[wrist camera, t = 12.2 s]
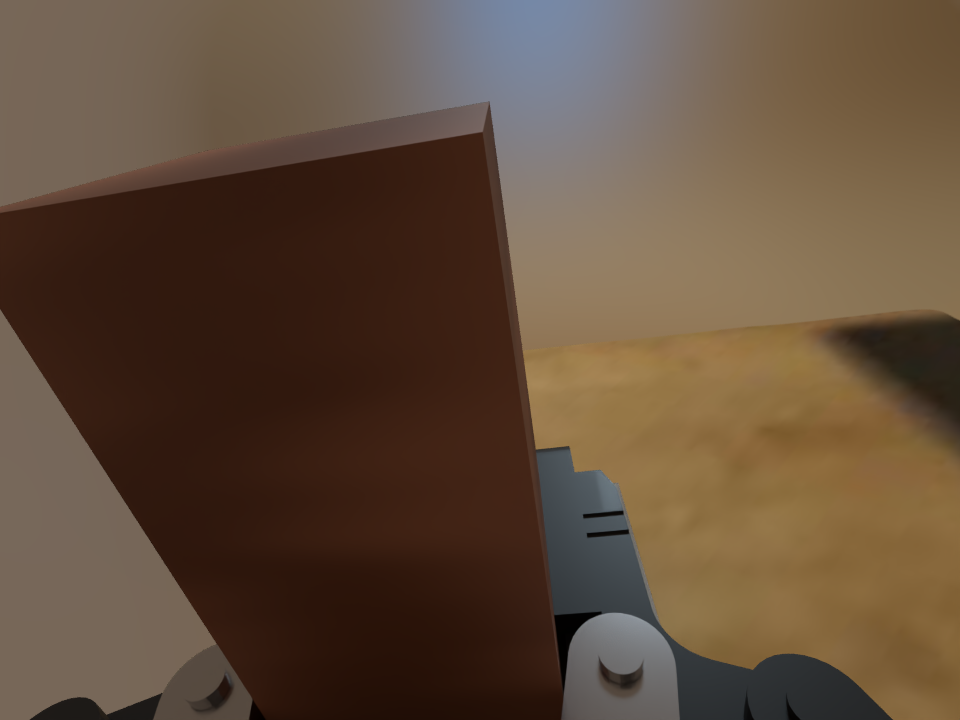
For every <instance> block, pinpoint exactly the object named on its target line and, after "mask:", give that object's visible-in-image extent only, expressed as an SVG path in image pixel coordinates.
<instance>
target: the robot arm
mask: <svg viewBox="0 0 960 720" xmlns="http://www.w3.org/2000/svg"><path fill="white" fill-rule="evenodd" d="M536 456H537V463H538V471H539V479H540V488H541V497H542V507H543V516H544V525H545V535H546V544H547V553H548V563H549V572H550V582H551V591H552V600H553V610H554V618H555V625H556V633H557V640H558V647H559V654H560V661H561V669H562V676H563V683H564V699H563V708H562V717H561V720H893V719H892V718H890V717H889V716H888V715H887V714H886V713H885V712H884V711H883V710H882V709H881V708H880V707H879V706H878V705H877V704H876V703H875V702H874V701H873V700H872V699H871V698H870V697H869V696H868V695H867V694H866V693H865V692H864V691H863V690H862V689H861V688H860V687H859V686H858V685H857V684H856V683H855V682H854V681H853V680H851V679H850V678H849V677H848V676H846V675H845V674H844V673H842V672H841V671H839V670H838V669H836V668H834V667H832V666H831V665H829V664H827V663H825V662H822V661H820V660H818V659H815V658H812V657H808V656H805V655H798V654H780V655H774V656H772V657H769V658H767V659H765V660H763V661H762V662H760V663H759V664H758V665H757V666H756V667H755V668H754V670H750V669H746V668H742V667H738V666H735V665H731V664H727V663H723V662H719V661H715V660H711V659H708V658H705V657H701V656H699V655H697V654H695V653H693V652H690V651H689V650H687V649H686V648H684V647H682V646H681V645H679V644H678V643H677V642H676V641H674V640H673V639H672V638H671V637H670V636H669V635H668V634H667V633H666V632H665V631H664V629H663V628H662V627H661V625H660V624H659V622H658V621H657V619H656V617H655V615H654V613H653V610H652V607H651V604H650V600H649V597H648V593H647V590H646V586H645V583H644V580H643V576H642V573H641V569H640V566H639V562H638V559H637V555H636V552H635V549H634V545H633V542H632V538H631V535H630V533H629V528H628V524H627V521H626V518H625V515H624V511H623V507H622V504H621V500H620V497H619V493H618V490H617V488H616V486H615V485H614V484H613V483H612V482H611V481H610V480H609V479H608V478H607V477H606V476H605V475H604V473H603V472H602V471H601V470H595V471H585V472H574V467H573V462H572V457H571V452H570V448H569V446H566V447H557V448H548V449H538V450H536ZM30 720H266V719H265V718H264V716H263V714H262V713H261V711H260V710H259V708H258V707H257V705H256V704H255V702H254V701H253V699H252V697H251V696H250V694H249V693H248V691H247V690H246V688H245V687H244V685H243V684H242V682H241V680H240V679H239V677H238V676H237V674H236V673H235V671H234V670H233V668H232V667H231V665H230V663H229V662H228V660H227V659H226V657H225V656H224V654H223V653H222V651H221V650H220V648H219V646H218V645H217V644H216V645H214V646H211V647H209V648H207V649H205V650H203V651H202V652H200V653H198V654H197V655H195V656H194V657H193V658H192V659H190V660H189V661H188V662H187V663H185V664H184V665H183V666H182V667H181V668H180V669H179V671H178V672H177V673H176V674H175V675H174V676H173V678H172V679H171V680H170V682H169V683H168V685H167V687H166V688H165V690H164V692H163V693H161V694H159V695H156V696H154V697H151V698H149V699H146V700H144V701H141V702H138V703H136V704H133V705H131V706H128V707H126V708H123V709H121V710H118V711H115V712H113V713H110V714H108V715H106V714H105V713H104V712H103V711H102V709H101V708H100V707H99V706H98V705H97V704H96V703H95V702H94V701H92V700H91V699H88V698H81V697H78V698H71V699H67V700H64V701H61V702H59V703H57V704H54V705H52V706H50V707H49V708H47V709H45V710H43V711H42V712H40V713H39V714H37V715H36V716H34V717H33V718H31V719H30Z"/></svg>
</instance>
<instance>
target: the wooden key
mask: <svg viewBox="0 0 960 720" xmlns="http://www.w3.org/2000/svg"><path fill="white" fill-rule="evenodd" d="M0 309H1V311H2V313H3V314H4V316H5V317H6V319H7V320H8V322H9V323H10V325H11V327H12V328H13V330H14V331H15V333H16V334H17V336H18V337H19V339H20V340H21V342H22V343H23V345H24V346H25V348H26V350H27V351H28V353H29V354H30V356H31V357H32V359H33V360H34V362H35V364H36V365H37V367H38V368H39V370H40V371H41V373H42V374H43V376H44V377H45V379H46V380H47V382H48V384H49V385H50V387H51V388H52V390H53V391H54V393H55V395H56V396H57V398H58V399H59V401H60V402H61V404H62V405H63V407H64V408H65V410H66V412H67V413H68V415H69V416H70V418H71V419H72V421H73V422H74V424H75V425H76V427H77V428H78V430H79V432H80V433H81V435H82V436H83V438H84V439H85V441H86V442H87V444H88V445H89V447H90V449H91V450H92V452H93V453H94V455H95V456H96V458H97V459H98V461H99V462H100V464H101V466H102V467H103V469H104V470H105V472H106V473H107V475H108V476H109V478H110V480H111V481H112V482H113V484H114V486H115V487H116V489H117V490H118V492H119V493H120V495H121V496H122V498H123V500H124V501H125V503H126V504H127V506H128V507H129V509H130V510H131V512H132V514H133V515H134V517H135V518H136V520H137V521H138V523H139V524H140V526H141V527H142V529H143V530H144V532H145V534H146V535H147V537H148V538H149V540H150V541H151V543H152V544H153V546H154V548H155V549H156V551H157V552H158V554H159V555H160V557H161V558H162V560H163V561H164V563H165V565H166V566H167V567H168V569H169V571H170V572H171V574H172V575H173V577H174V578H175V580H176V582H177V583H178V585H179V586H180V588H181V589H182V591H183V592H184V594H185V595H186V597H187V599H188V600H189V602H190V603H191V605H192V606H193V608H194V609H195V611H196V612H197V614H198V615H199V617H200V619H201V620H202V622H203V623H204V625H205V626H206V628H207V629H208V631H209V633H210V634H211V635H212V637H213V639H214V640H215V641H216V643H217V645H218V646H219V648H220V650H221V651H222V653H223V654H224V656H225V657H226V659H227V660H228V662H229V663H230V665H231V667H232V668H233V670H234V671H235V673H236V674H237V676H238V677H239V679H240V680H241V682H242V684H243V685H244V687H245V688H246V690H247V691H248V693H249V694H250V696H251V697H252V699H253V701H254V702H255V704H256V705H257V707H258V708H259V710H260V711H261V713H262V714H263V716H264V718H265V719H266V720H561V717H562V708H563V699H564V683H563V676H562V669H561V661H560V654H559V647H558V640H557V633H556V625H555V618H554V610H553V600H552V591H551V582H550V572H549V563H548V553H547V544H546V535H545V525H544V516H543V507H542V497H541V488H540V479H539V471H538V463H537V456H536V448H535V441H534V433H533V426H532V418H531V411H530V403H529V396H528V388H527V381H526V373H525V366H524V358H523V351H522V343H521V336H520V328H519V321H518V314H517V306H516V298H515V291H514V283H513V275H512V269H511V261H510V253H509V245H508V238H507V230H506V223H505V215H504V208H503V200H502V193H501V185H500V178H499V171H498V163H497V156H496V148H495V141H494V133H493V125H492V118H491V110H490V103H489V102H484V103H478V104H472V105H466V106H461V107H455V108H449V109H443V110H437V111H432V112H426V113H421V114H415V115H409V116H403V117H397V118H392V119H386V120H380V121H374V122H368V123H363V124H357V125H351V126H345V127H339V128H334V129H328V130H322V131H316V132H311V133H305V134H299V135H293V136H288V137H282V138H277V139H271V140H264V141H259V142H253V143H247V144H242V145H236V146H230V147H224V148H218V149H213V150H207V151H204V152H200V153H196V154H193V155H189V156H185V157H181V158H178V159H174V160H170V161H167V162H164V163H160V164H156V165H152V166H149V167H145V168H141V169H137V170H134V171H131V172H127V173H123V174H119V175H116V176H112V177H109V178H105V179H101V180H97V181H94V182H90V183H86V184H83V185H79V186H76V187H72V188H68V189H64V190H61V191H57V192H53V193H50V194H46V195H42V196H39V197H35V198H31V199H28V200H24V201H20V202H17V203H13V204H9V205H6V206H2V207H0Z"/></svg>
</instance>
